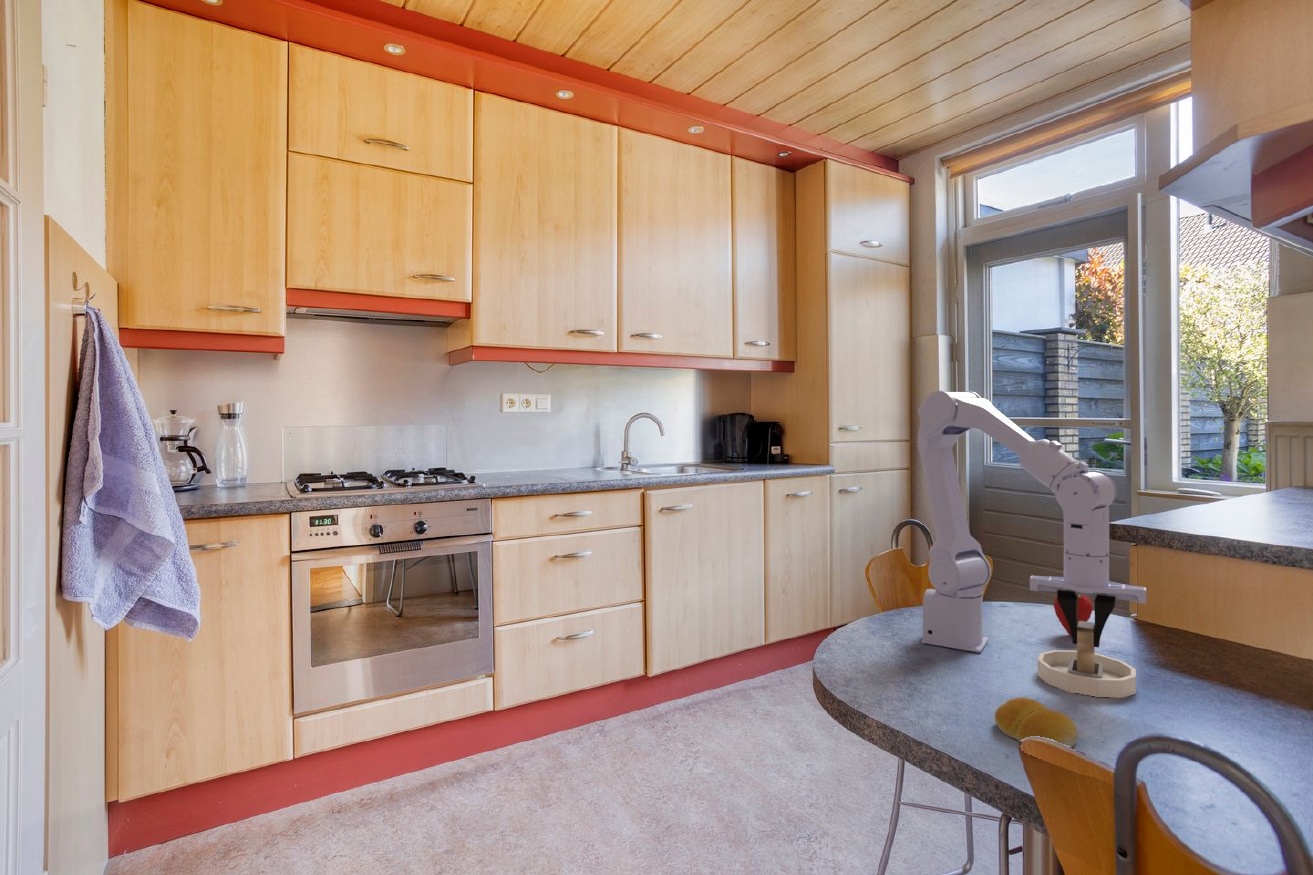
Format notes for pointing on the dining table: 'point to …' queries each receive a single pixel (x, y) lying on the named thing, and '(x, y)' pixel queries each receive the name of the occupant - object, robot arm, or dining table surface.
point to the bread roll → (1034, 721)
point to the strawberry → (1083, 611)
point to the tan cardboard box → (1085, 647)
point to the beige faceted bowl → (1087, 675)
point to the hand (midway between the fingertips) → (1085, 643)
